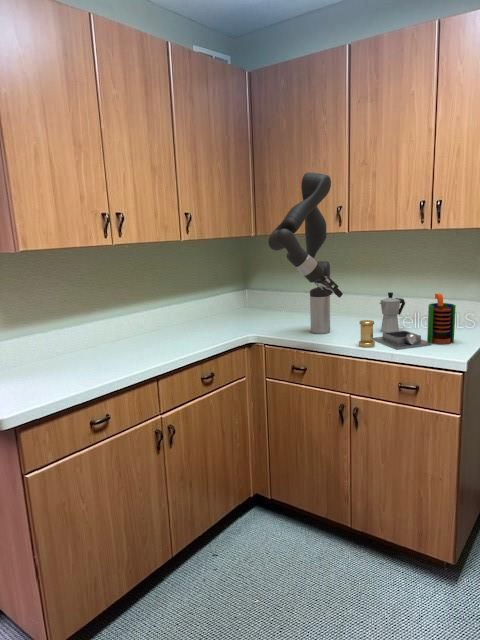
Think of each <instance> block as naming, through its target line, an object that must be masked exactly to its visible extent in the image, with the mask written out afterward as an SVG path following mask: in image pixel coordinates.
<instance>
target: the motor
mask: <svg viewBox="0 0 480 640" xmlns="http://www.w3.org/2000/svg"><path fill="white" fill-rule="evenodd" d="M434 299H436V300H437V302H433V303H432V302H431V303H429V304H428V314H427V336H426V337H427V338H426V339H427V340H426V341H428V342H431V343H432V345H433V344H434V345H440V346H441V345H443V346H445V345H450V344H451V343H452V344H454V343H455V325H456V324H455V323H456V309H457V308H456V305H455V304H454V303H449V302H447V303H446V302H444V296H443V293H440V292H439V293H434Z"/></svg>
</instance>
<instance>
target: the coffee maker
mask: <svg viewBox="0 0 480 640" xmlns="http://www.w3.org/2000/svg"><path fill="white" fill-rule="evenodd" d="M387 295H388V297H386V298H383V299H380V302H379V304H380V308H381V314H382V321H381V326H380V327H381V328H380V332H381V333H388V332H397V331H400V327H399V321H398V316H400V315H401V314H402V312H403V309H404V307H405V305H406V302H405V298H398V297H393V296H394V292H391V291H390V292H389V291H388V292H387Z"/></svg>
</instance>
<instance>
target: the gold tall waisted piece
mask: <svg viewBox="0 0 480 640" xmlns="http://www.w3.org/2000/svg"><path fill="white" fill-rule="evenodd" d="M374 325H375V321H374V320H373V319H371V320H370V319H362V320H360V321H359V326H360V340H359V341H358V347H360V348H368V349H369V348H374V347H375V346H376V341H374V340H373V338H374Z"/></svg>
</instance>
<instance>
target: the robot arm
mask: <svg viewBox="0 0 480 640" xmlns="http://www.w3.org/2000/svg"><path fill="white" fill-rule="evenodd" d="M301 178H302V179H301V197H302V200H301V201H300V202H298V203H297V204H294V206H292V207H291V208H290V209H289V211H287V214H286V215H285V217H284V218H283V219H282V221H281V223H280V224H279V225H277V226H276V227H275V229H274V230H273V231H272V232H271V233H270V235H269V236H268V246H269V248H270V249H271V250H273V251H275V252H276V251H281V250H283V249H285V250H286V251H287V253H286V259H287V260H288V261H289V262H290V264H292V266H294V267H295V268H296V270H298V272H299V273H300V274H301V275H302V276H303V277H304V278H305V279H306V280H307V281H308V282H309V283H310V284H311V283H313V284H315V286H317V287H314V288H312V289H310V290H309V308H310V310H309V311H310V312H309V313H310V314H309V315H310V316H309V317H310V319H309V320H310V333H313V334H328V333H331V296H332V294H335V296H337V298H341V297H342V296H343V293H344V292H342V291H341V289H339V287H340V286H339V285H338V284H337V282H335V281H334V280H332V278H331V265H330V262H329V261H326V260H324V261H323V260H322V261H321V260H320V261H317V260H315V257H316V254H317V253H318V252H319V250H320V249H321V247H322V246H323V244H324V243H325V241H326V239H327V222H326V220H325V218H324V215H323V214H322V212H321V211H320V209H319V207H318V206H319V204H320V203H322V201H323V200H324V199H325V198H326V197H327V195H328V194H329V193H330V190H331V188H332V180H331V176H330V175H327V174H325V173H324V174H323V173H318V172H305V173H304V174H303V176H302V177H301ZM302 224H304V235H305V248H306V250H305V249H304V248H302V246H301V243H300V242H299V240H298V239H297V237H296V235H295V233H296V232H297V231H299V229H300V227H301V226H302Z"/></svg>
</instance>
